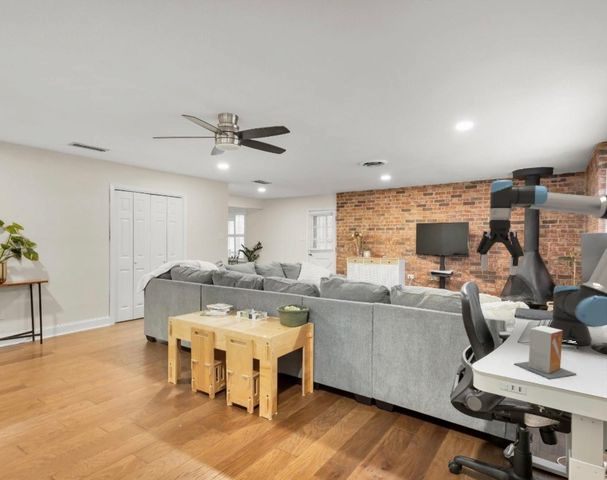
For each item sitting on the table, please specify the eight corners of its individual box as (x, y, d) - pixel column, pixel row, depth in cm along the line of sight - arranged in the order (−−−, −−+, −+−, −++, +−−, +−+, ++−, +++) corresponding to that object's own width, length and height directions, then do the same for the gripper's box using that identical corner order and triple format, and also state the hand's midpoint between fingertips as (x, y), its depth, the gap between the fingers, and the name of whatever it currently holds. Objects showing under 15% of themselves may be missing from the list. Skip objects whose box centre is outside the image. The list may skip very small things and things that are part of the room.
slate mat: (540, 361, 123) (540, 360, 123) (576, 375, 111) (576, 373, 111) (514, 364, 119) (514, 363, 119) (549, 379, 107) (549, 378, 107)
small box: (549, 374, 110) (551, 333, 110) (527, 367, 116) (529, 328, 115) (561, 369, 115) (563, 329, 114) (539, 362, 120) (541, 325, 119)
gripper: (468, 219, 151) (466, 268, 151) (521, 218, 127) (518, 276, 128) (482, 220, 153) (480, 268, 154) (536, 219, 130) (533, 276, 130)
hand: (497, 272), depth 141 cm, fingers open, 13 cm apart
